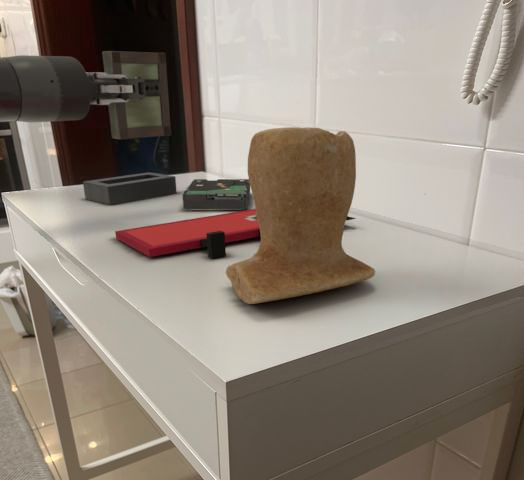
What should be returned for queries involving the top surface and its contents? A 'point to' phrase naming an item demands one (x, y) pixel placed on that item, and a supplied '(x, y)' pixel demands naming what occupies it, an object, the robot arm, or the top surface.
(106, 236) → the top surface
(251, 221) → the red board with handle
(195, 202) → the disk drive
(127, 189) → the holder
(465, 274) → the top surface
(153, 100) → the picture frame
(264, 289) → the brown stone sculpture
